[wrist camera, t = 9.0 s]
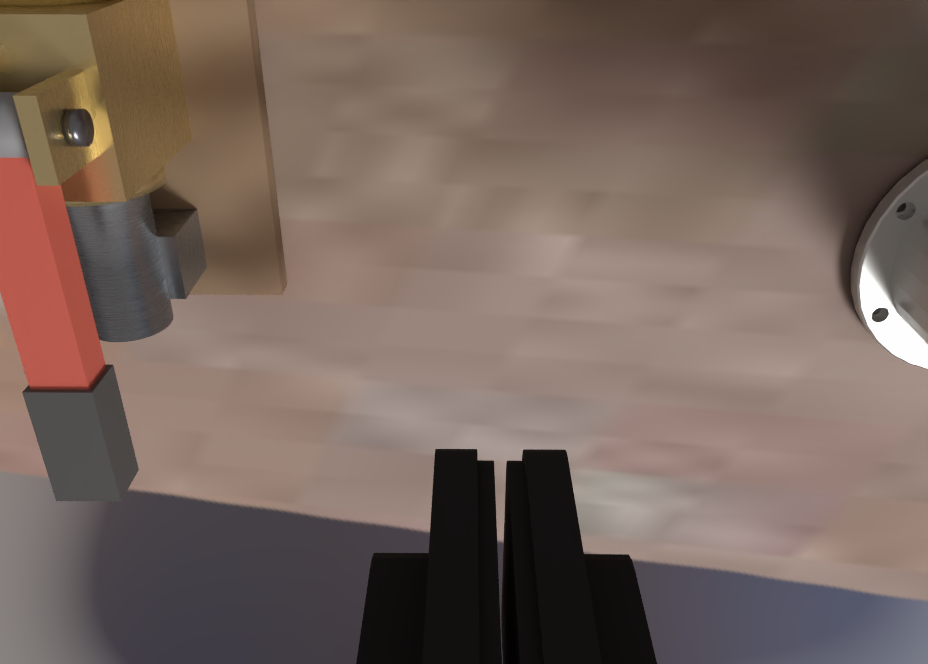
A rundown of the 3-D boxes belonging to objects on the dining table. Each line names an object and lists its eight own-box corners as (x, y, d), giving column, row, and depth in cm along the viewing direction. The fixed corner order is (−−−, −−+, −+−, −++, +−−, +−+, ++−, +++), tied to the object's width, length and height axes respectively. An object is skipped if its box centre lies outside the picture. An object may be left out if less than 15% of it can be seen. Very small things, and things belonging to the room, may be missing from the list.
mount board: (-94, -244, 30) (-114, -248, 29) (225, -244, 30) (216, -248, 29) (52, 282, 41) (41, 293, 40) (287, 284, 41) (282, 294, 40)
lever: (-32, 85, 27) (-71, 101, 25) (46, 85, 27) (13, 101, 25) (78, 467, 34) (55, 502, 33) (139, 468, 34) (119, 502, 32)
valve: (-22, -232, 30) (-269, -284, 20) (131, -231, 30) (-41, -284, 20) (103, 284, 40) (-19, 420, 30) (216, 285, 40) (132, 421, 30)
